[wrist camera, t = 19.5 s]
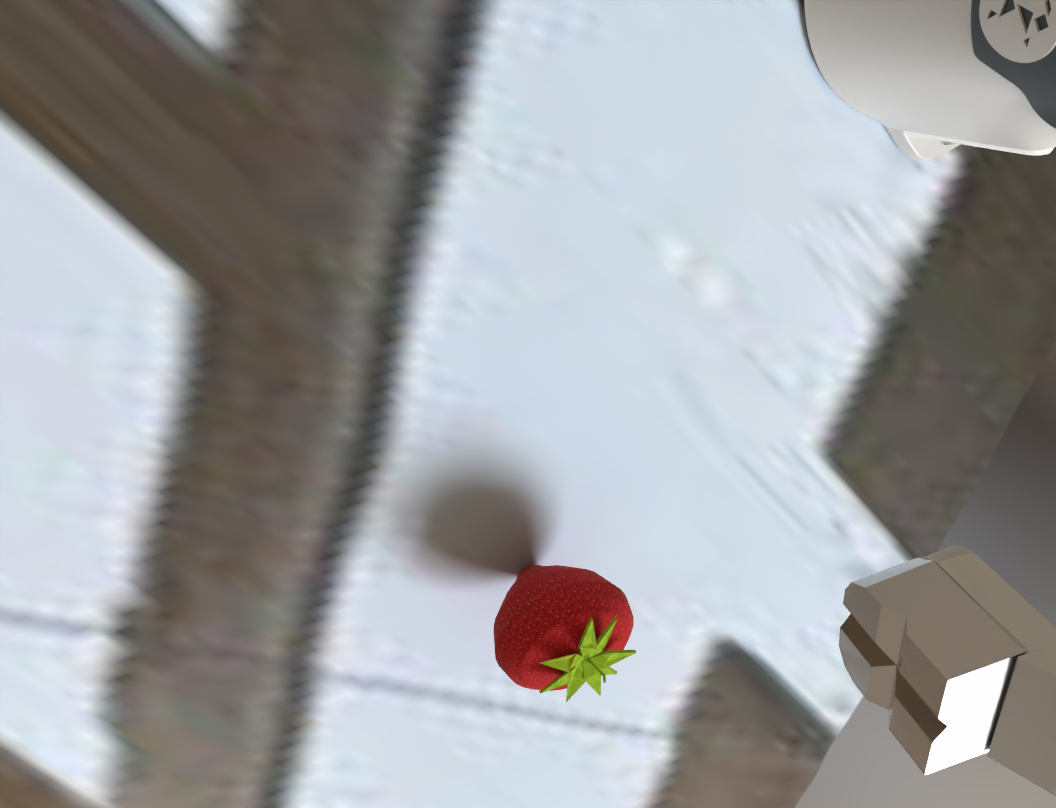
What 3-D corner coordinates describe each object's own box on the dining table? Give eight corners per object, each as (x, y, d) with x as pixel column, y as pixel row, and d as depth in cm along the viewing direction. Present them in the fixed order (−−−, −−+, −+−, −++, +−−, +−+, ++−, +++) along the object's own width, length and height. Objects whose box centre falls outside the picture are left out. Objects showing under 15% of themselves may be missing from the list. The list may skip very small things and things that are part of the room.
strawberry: (453, 554, 47) (517, 685, 39) (579, 505, 49) (666, 621, 41) (475, 631, 50) (539, 767, 42) (593, 582, 52) (676, 704, 44)
